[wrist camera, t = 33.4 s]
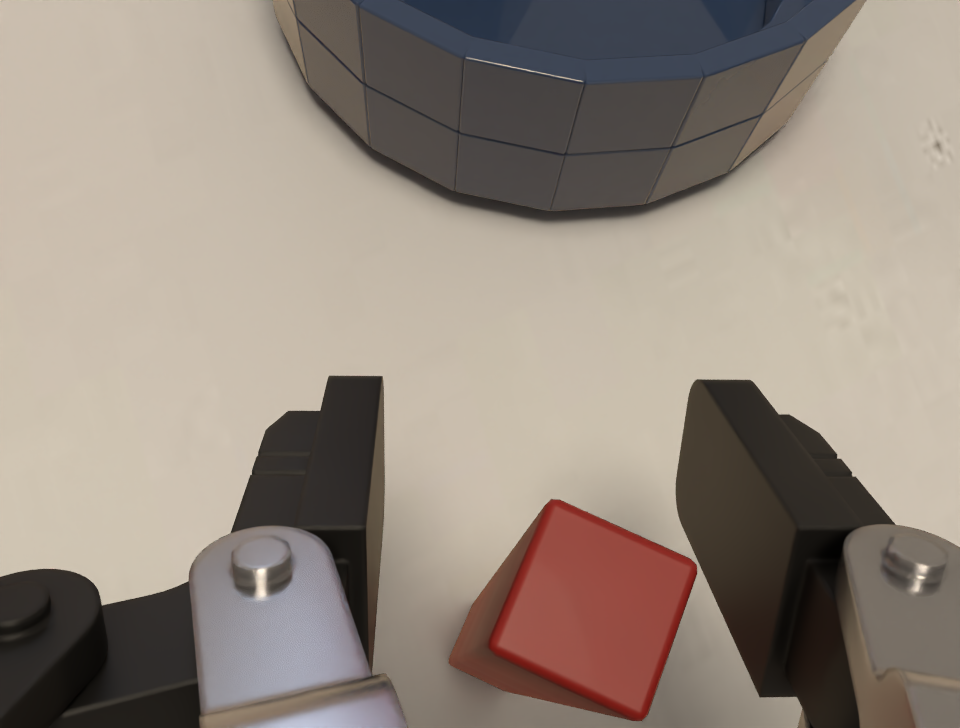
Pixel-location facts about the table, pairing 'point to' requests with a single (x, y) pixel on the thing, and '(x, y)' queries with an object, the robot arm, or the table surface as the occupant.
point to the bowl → (564, 87)
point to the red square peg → (578, 615)
